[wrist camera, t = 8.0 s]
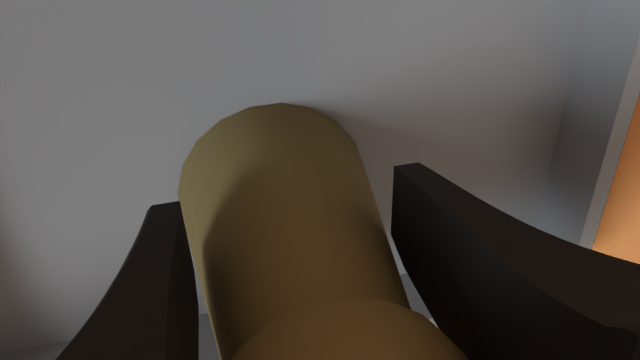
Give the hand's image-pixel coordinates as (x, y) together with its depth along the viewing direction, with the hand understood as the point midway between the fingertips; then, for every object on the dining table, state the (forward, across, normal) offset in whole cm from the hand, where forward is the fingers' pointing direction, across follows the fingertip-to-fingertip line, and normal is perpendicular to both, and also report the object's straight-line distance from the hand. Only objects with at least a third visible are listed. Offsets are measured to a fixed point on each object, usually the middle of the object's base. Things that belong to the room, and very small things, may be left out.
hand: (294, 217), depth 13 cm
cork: (+5, 0, +2) cm, 5 cm away
